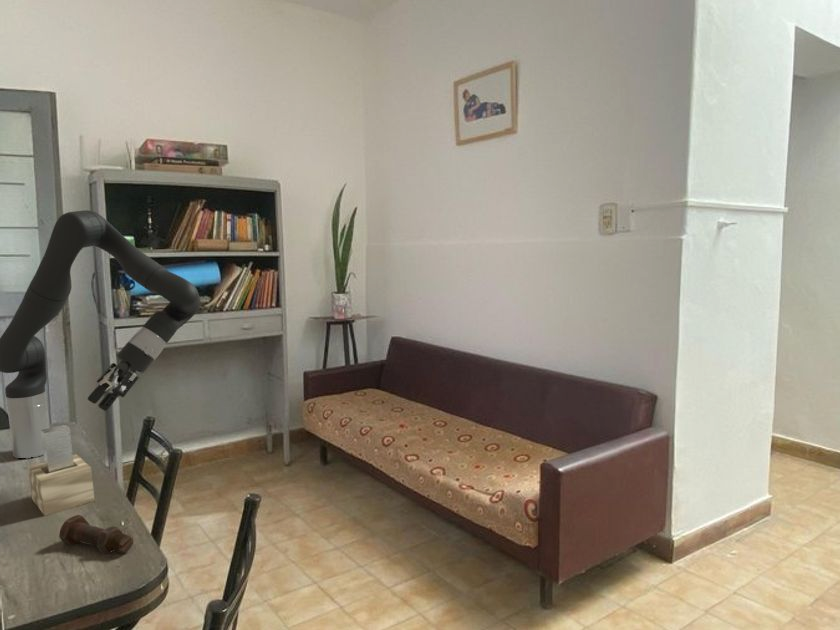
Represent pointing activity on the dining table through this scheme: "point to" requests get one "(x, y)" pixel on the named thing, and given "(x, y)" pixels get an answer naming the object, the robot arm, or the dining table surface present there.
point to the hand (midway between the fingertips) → (96, 405)
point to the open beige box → (61, 486)
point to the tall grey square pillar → (57, 448)
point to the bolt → (94, 535)
